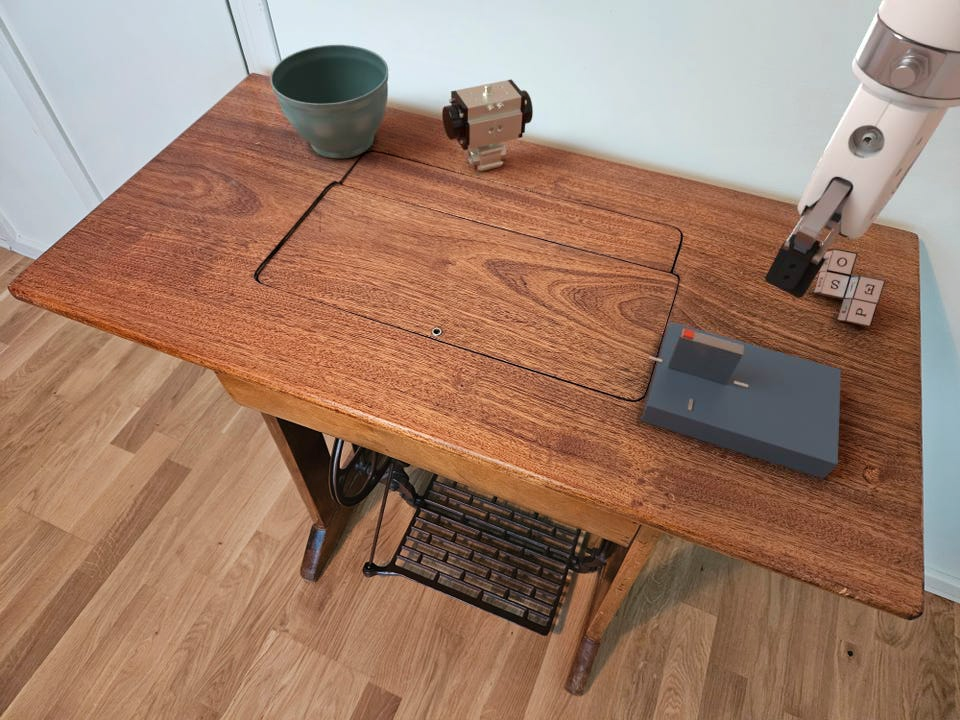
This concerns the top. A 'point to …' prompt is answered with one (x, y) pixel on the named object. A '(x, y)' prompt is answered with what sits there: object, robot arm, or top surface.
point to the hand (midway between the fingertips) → (808, 257)
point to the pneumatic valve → (487, 120)
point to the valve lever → (705, 356)
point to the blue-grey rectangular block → (753, 406)
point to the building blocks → (849, 287)
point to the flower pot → (333, 97)
